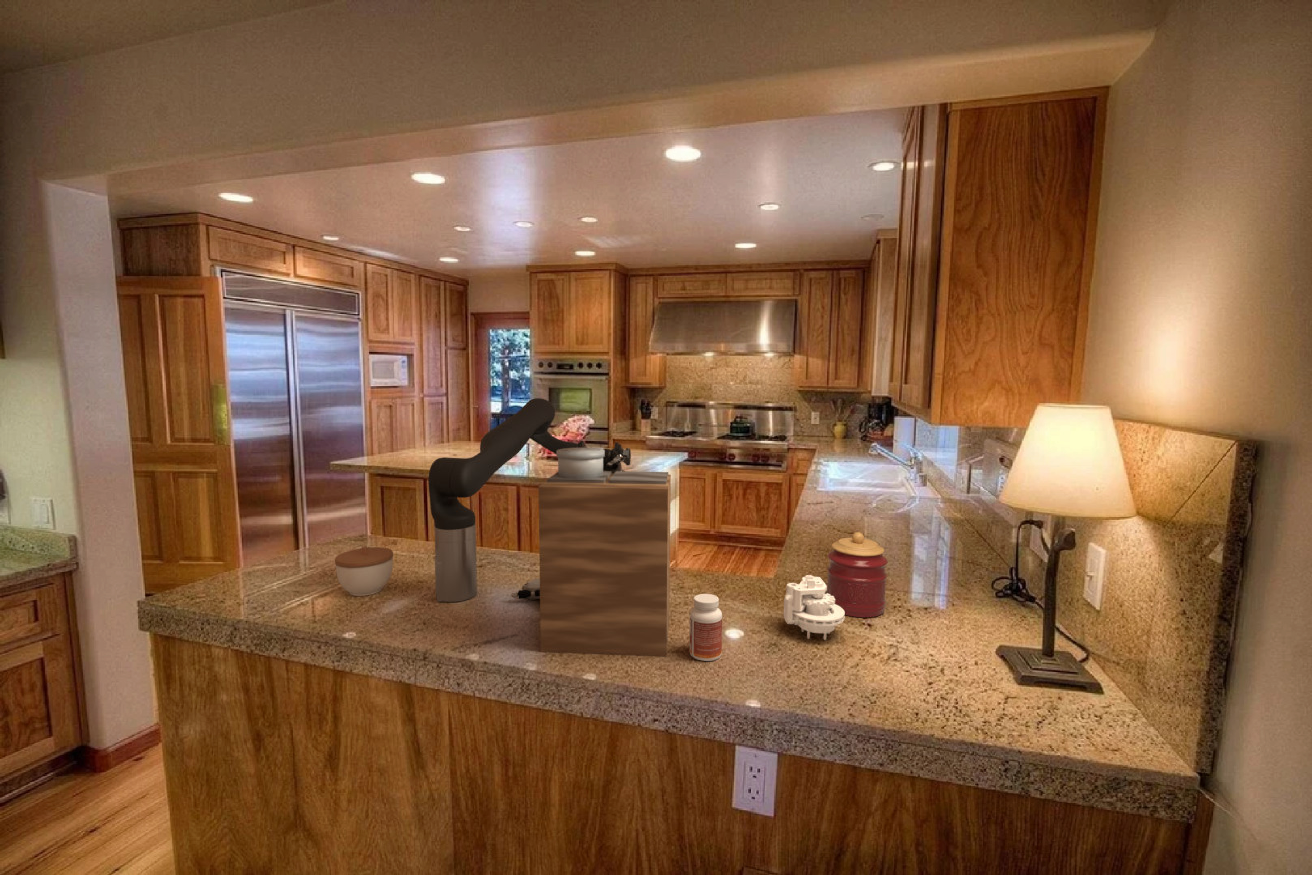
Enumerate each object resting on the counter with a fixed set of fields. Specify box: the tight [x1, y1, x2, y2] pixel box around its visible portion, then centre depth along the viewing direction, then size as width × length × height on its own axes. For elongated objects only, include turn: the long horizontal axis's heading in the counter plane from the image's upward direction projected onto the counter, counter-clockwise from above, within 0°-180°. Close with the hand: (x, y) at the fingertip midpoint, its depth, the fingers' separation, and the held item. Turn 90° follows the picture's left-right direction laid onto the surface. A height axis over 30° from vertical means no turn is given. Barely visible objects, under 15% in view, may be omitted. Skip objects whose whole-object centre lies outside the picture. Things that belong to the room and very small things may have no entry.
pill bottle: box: [688, 593, 723, 662], centre depth 108 cm, size 6×6×11 cm
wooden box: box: [538, 470, 672, 657], centre depth 115 cm, size 16×24×33 cm, turn 87°
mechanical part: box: [783, 574, 846, 641], centre depth 117 cm, size 11×12×12 cm
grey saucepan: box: [556, 446, 605, 479], centre depth 122 cm, size 23×10×5 cm, turn 177°
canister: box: [825, 531, 889, 618], centre depth 131 cm, size 13×13×18 cm
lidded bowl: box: [334, 545, 394, 597], centre depth 139 cm, size 13×13×11 cm
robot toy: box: [511, 578, 540, 601], centre depth 135 cm, size 12×4×15 cm
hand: (598, 445), depth 138 cm, fingers open, 8 cm apart
